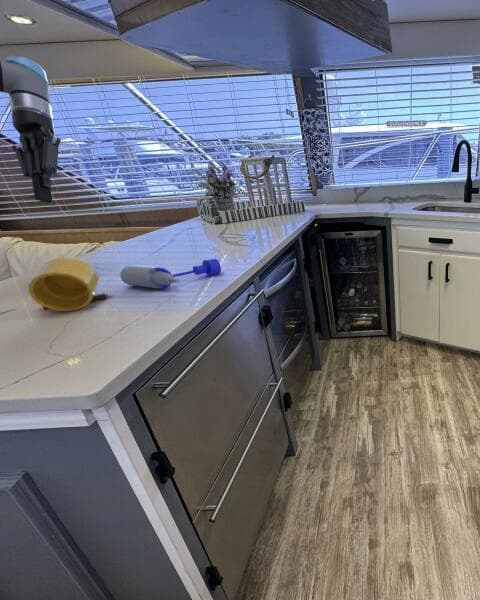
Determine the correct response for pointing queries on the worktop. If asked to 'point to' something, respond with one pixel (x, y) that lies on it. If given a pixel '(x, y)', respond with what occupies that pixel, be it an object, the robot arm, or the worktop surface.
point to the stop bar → (95, 297)
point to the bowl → (64, 284)
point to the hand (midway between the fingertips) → (43, 200)
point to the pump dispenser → (163, 274)
